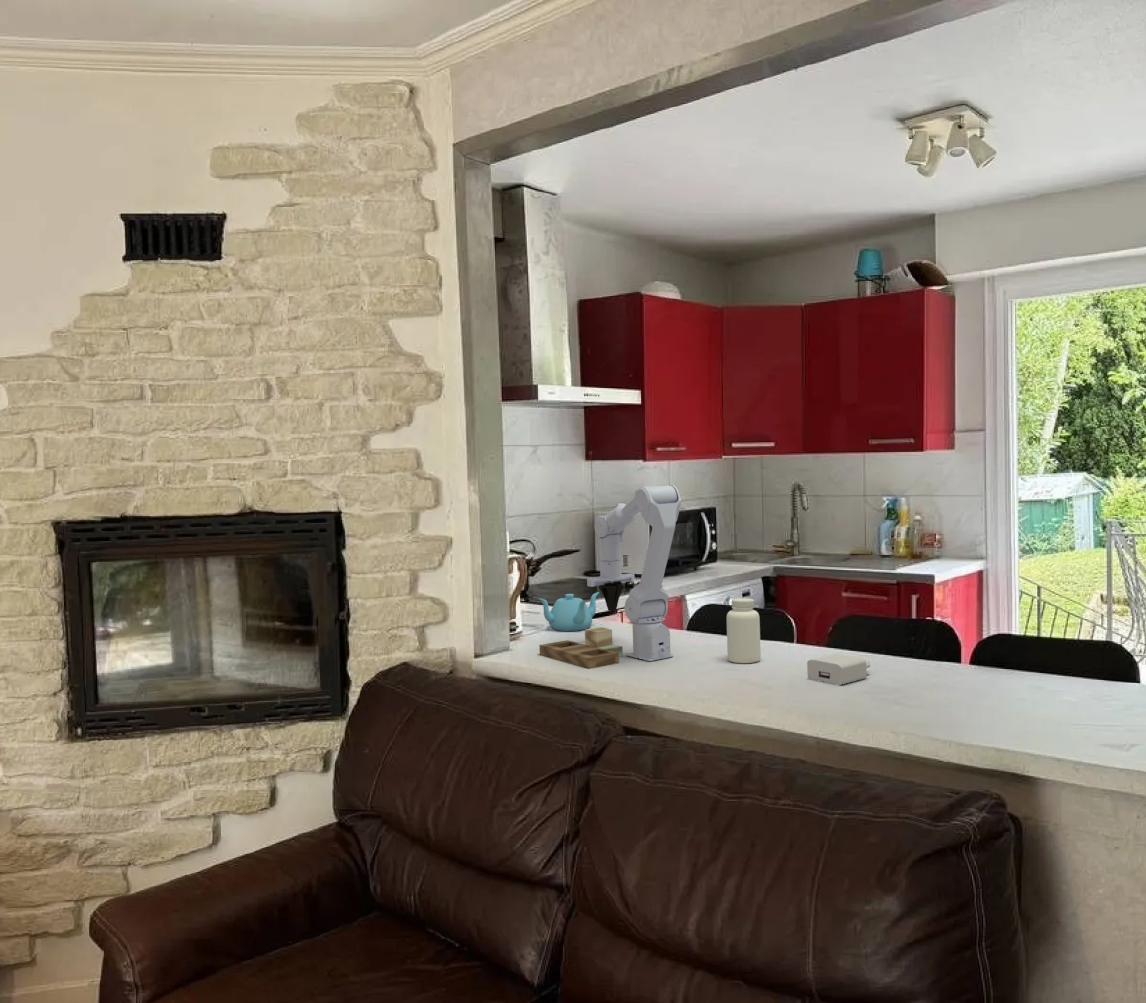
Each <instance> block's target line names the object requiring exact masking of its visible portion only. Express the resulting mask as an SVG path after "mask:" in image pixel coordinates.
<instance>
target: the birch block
mask: <svg viewBox="0 0 1146 1003" xmlns="http://www.w3.org/2000/svg"><path fill="white" fill-rule="evenodd" d="M584 642H585V645H588V646H592V647H596V648H599V647H604V646H610V645H612V644H613V629H611V628H607V627H602V626H600V627H599V626H597V627H592V628H587V629H584Z"/></svg>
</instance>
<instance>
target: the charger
mask: <svg viewBox="0 0 1146 1003" xmlns="http://www.w3.org/2000/svg"><path fill="white" fill-rule="evenodd" d="M806 664H807V665H806V666H807V667H806V668H807V669H806V670H807V672H806V673H807V678H808V680H810V681H811V680H812V681H815V680H819V681H818V682H820V681H824V682H823V683H825V682H828V683H827V684H830V683H832V684H831V685H835V684H838V685H837V686H839V685H840V686H842V684H843V685H847V684H850V682H851V683H854V682H857V680H858V681H861V680H865V679H866V678H867V669H869V668H870V667H871V662H870V661H868V660H866V659H864V658H862V657H857V656H852V655H845V654H840V653H833V654H829V655H824V656H822V657H817V658H813V659H809V660H808V661H807V662H806ZM846 683H847V684H846Z"/></svg>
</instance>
